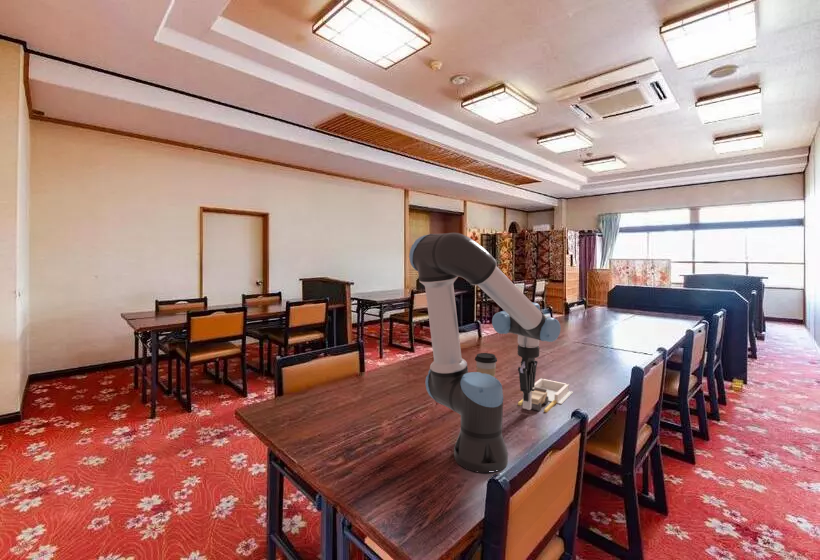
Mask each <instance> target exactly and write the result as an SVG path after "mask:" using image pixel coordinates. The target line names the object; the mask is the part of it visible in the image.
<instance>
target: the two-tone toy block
mask: <svg viewBox="0 0 820 560" xmlns="http://www.w3.org/2000/svg"><path fill="white" fill-rule="evenodd" d="M534 389H535V390H534V391H532V407H531V410H534V411H537V412H541V410H542V405H543V404H544V405H549V401H548V400H549V398H548V397H547V389H543V388H538V387H534Z"/></svg>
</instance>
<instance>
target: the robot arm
mask: <svg viewBox="0 0 820 560" xmlns="http://www.w3.org/2000/svg"><path fill="white" fill-rule="evenodd" d="M408 257H409V262H410V265H411V266H412V268H413V269H414V270H415V271H417V272H418V273H417V274H418V281H419V283H421V285H423V286H424V288H425V289H424V290H425V296H426V297H425V298H426V305H427V312H428V313H427V315H428V320H429V330H430V339H431V347H432V354H433V355H432V356H433V361H432V362H431V364H430V366H429V370H428V372H427V375H426V377H425V389H426V392H427V394H428V396H429V397H430V398H432V400H434V402H436V403H438V404H439V405H442V406H444V407H446V408H448V409H450V410H452V411H453V412H455V413H457V414H458V415H459V416H460V430H459V433H458V436H457V439H456V442H455V445H454V448H453V457H454V460H456V461H455V462H456V463H457V464H458V465H459V466H460V465H461V466H460V467H462V466H463V467H465V468H467V469H466V470H468V469H469V470H468V471H470V470H473V471H472V472H474V471H478V472H477V473H479V472H489V471H496V470H500V469H502V470H503V469H505V468H506V467H507V465H508V463H509V454H508V453H509V452H508V449H507V446H506V443H505V440H504V436H503V409H504V391H503V385H502V383H501V381H500V380H499V379H498V378H497V377H496V376H495V377H493V376H491V375H489V374H485V373H484V374H482V373H480V372H477V371H472V372H471V371H470V372H469V367H468V362H467V361H466V359H464V358H462V350H461V342H460V333H459V323H458V315H457V305H456V304H457V303H456V297H455V296H456V295H455V289H454V288H455V287H454V283H455V282H456V280H457V279H458V277H460V278H463V279H464V280H466V282H468V283H469V284H470V285H471V286H478V288H479V289H481V290H482V291H483V293H485V294H486V295H487V296H488V297H489V298H490V299H491V300H493V301H494V302H495V303H496V305H498V306H499V307H500V308H501V309H502V311H499V312H496V313H494V315H493V316H492V319H491V325H492V327H493V330H494V331H495V332H496V333H497V334H500V335H503V334H504V335H507V334H514V335H517V344H518V345H517V356H518V357H521V361H520V366H521V367H520V366H518V368H517V370H518V378H519V389H520V392H522V399H523V404H522V409H524V410H528V411H531V410H532V409H531V407H532V391H534V390H535V389H533V388H534V385H535V382H536V376H537V375H536V374H537V366H538V360H536V358H537V359H538V358H539V356H540V347H539V345H540V341H541V342H549V343H552V342H555V341H556V340H557V339H558V338H559V336H560V334H561V331H562V330H561V329H562V328H561V323H560V322H559V320H558V319H557V318H554V317H551V316H546V315H545V314H544V313H543V312H542V311H541V306H540V304H539V303H537V302H532V301H531V299H529V298H528V297H527V296H526V295H525V294H524V293H523V292H522V291H521V290H520V289H519V287H517V286H516V285H515V284H514V283H513V282H512V280H511V279H510V278H509V277H508V276H507V275H506V274H505V273H504V272H503V271H502V270H501V269H500V268H499V267H498V266H497V260H496V259H495V257H493V255H492V254H491V253H489V251H488V250H486V248H484V247H483V246H482V245H481V244H479V243H478V242H477V241H475V240H474V239H472V238H471V237H469V236H467V235H465V234H462V233H460V232H447V233H429V234H426V235H425V234H423V235H422V236H419V237H418V238H417V239H415V241H414V242H413V244H412V245H411V247H410V250H409V256H408ZM463 467H462V468H463ZM465 468H464V469H465ZM500 471H501V470H500Z"/></svg>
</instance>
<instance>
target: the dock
mask: <svg viewBox="0 0 820 560" xmlns="http://www.w3.org/2000/svg"><path fill="white" fill-rule="evenodd" d="M534 387H538V388H543V389H547V397H548V398H549V400H548V404H547V405H546V407H545V408H544V409H543V412H544V413H548V412H549V411H550V410H552V408H553V407H554V406H555V405H556V404H558V405H562V404H563V403H564V402H566V401H567V400H568V399H569V397H570V396H572V394H573V393H574V391H572V390H571V391H570V383H565V382H560V381H554V380H550V379H547V378H542V377H540V378H539V379H538V380H536V381H535V385H534ZM533 389H534V388H533ZM549 402H550V403H549ZM517 406H523V398H522V399H521V400H520V401H518V402H517Z"/></svg>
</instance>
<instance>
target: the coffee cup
mask: <svg viewBox="0 0 820 560" xmlns="http://www.w3.org/2000/svg"><path fill="white" fill-rule="evenodd" d="M474 360H475V362H476V363H475V364H476V372H480V373H482V374H484V373H485V374H489V375H491V376H493V377H495V378H496V369H497V367H496V366H497V365H496V364H497V362H498V358H497V357H496V355H495V354H494V353H489V352H479V353H477V354H476V356H475V357H474Z"/></svg>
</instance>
